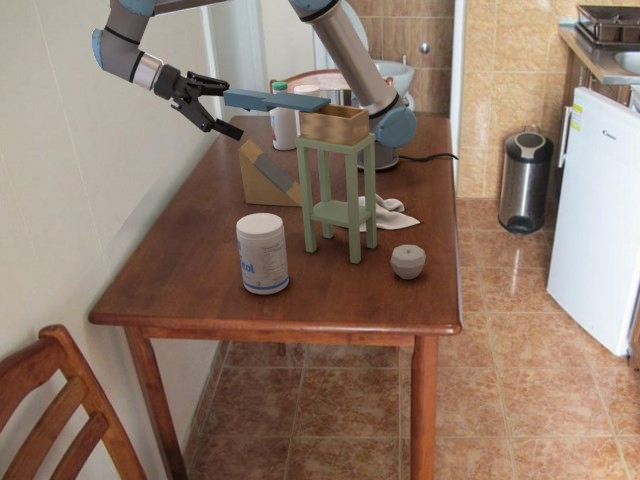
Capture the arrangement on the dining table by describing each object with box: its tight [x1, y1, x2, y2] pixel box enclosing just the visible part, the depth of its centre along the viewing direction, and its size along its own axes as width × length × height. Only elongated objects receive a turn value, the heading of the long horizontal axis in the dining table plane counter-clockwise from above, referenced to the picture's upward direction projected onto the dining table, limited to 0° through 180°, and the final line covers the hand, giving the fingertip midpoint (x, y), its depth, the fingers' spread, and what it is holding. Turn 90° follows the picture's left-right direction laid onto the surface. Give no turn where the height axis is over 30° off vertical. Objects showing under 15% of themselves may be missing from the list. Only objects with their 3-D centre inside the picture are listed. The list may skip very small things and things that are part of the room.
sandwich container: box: [237, 138, 302, 208], centre depth 174 cm, size 9×15×15 cm, turn 81°
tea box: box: [299, 103, 369, 146], centre depth 139 cm, size 12×8×5 cm, turn 64°
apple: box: [389, 244, 427, 280], centre depth 143 cm, size 8×8×7 cm
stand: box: [294, 133, 378, 265], centre depth 147 cm, size 14×10×27 cm
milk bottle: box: [269, 81, 297, 151], centre depth 206 cm, size 8×8×20 cm
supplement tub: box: [235, 212, 290, 295], centre depth 137 cm, size 10×10×15 cm
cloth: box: [358, 193, 421, 233], centre depth 167 cm, size 22×19×6 cm
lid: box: [223, 87, 332, 113], centre depth 143 cm, size 24×8×3 cm, turn 64°
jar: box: [293, 84, 323, 137], centre depth 218 cm, size 12×10×15 cm
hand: (247, 121), depth 157 cm, fingers open, 13 cm apart
